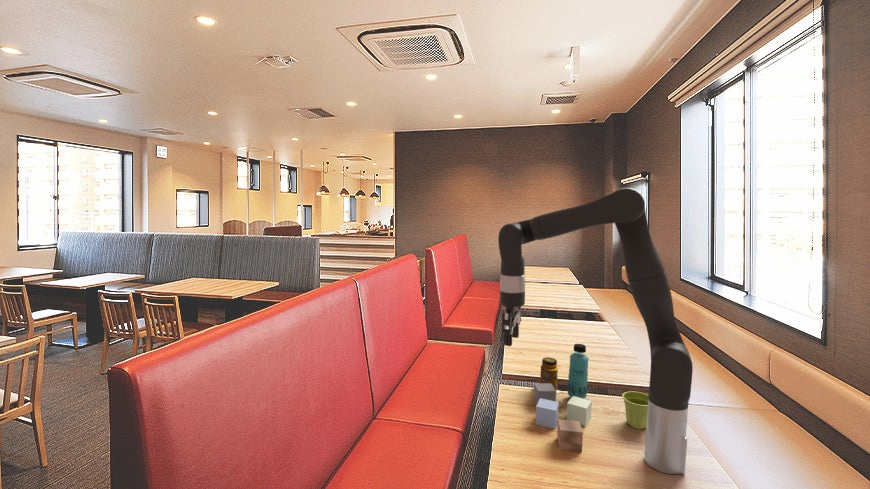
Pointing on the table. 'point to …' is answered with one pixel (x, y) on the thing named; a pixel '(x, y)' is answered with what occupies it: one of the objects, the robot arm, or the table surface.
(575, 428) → the walnut block
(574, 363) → the beverage bottle
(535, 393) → the charcoal block
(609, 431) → the table surface
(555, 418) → the slate blue block
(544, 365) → the condiment
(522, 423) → the table surface
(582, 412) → the sage block
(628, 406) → the plant pot
